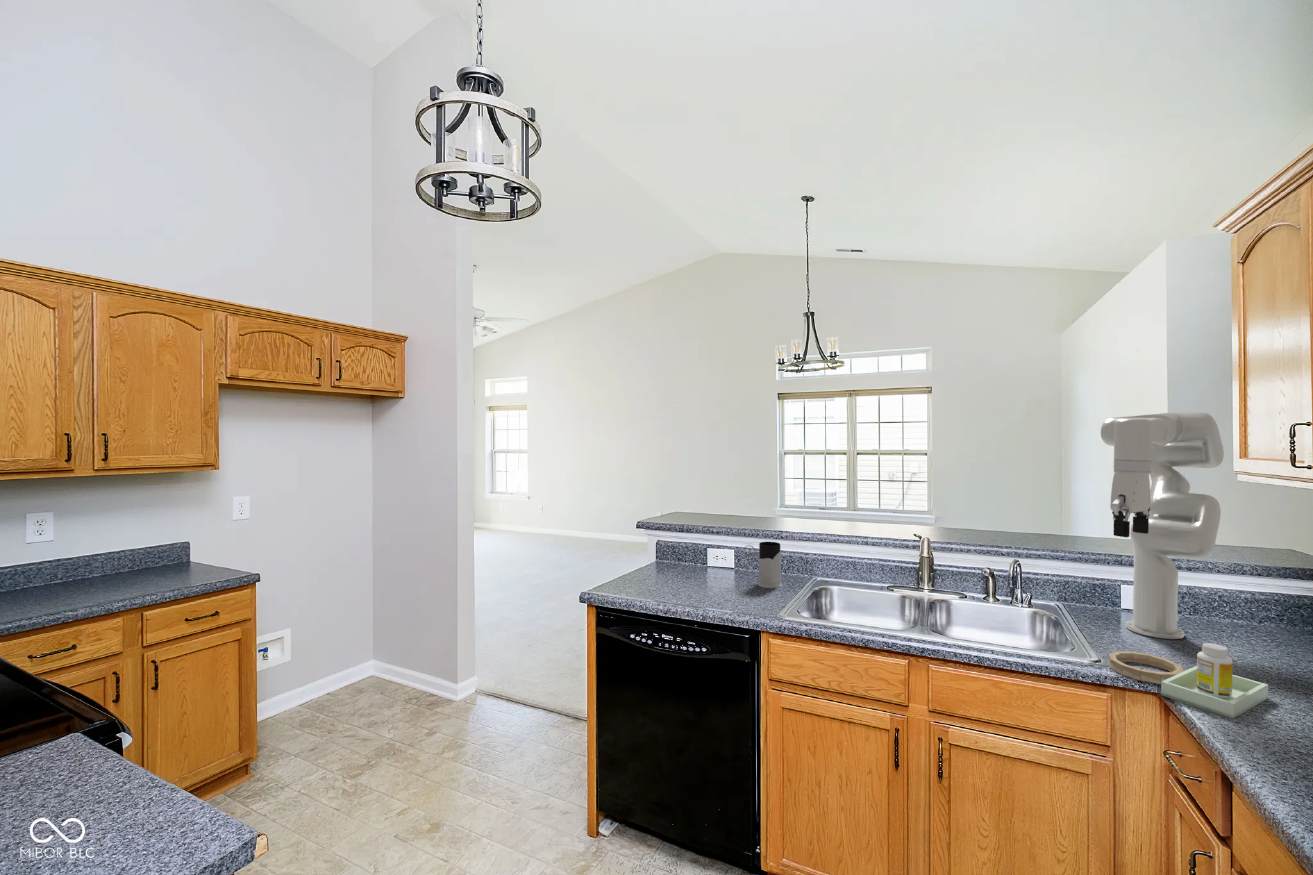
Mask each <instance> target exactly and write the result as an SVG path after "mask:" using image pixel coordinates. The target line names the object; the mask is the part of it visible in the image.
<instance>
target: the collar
mask: <svg viewBox="0 0 1313 875" xmlns="http://www.w3.org/2000/svg"><path fill="white" fill-rule="evenodd" d="M1126 663H1134V664H1135V663H1137V664H1142V665H1148V666H1152V667H1155V668H1159V669H1162V670H1164V669H1165V670H1164V671H1165V672H1164V671H1155V670H1146V669H1141V668H1139V667H1135V666H1131V665H1128V664H1126ZM1108 665H1109V668H1110V669H1111V670H1112V671H1114V672H1117V673H1119V674H1120V675H1122V676H1124V677H1129V678H1132V679H1135V680H1138V681H1143V682H1147V683H1152V684H1153V683H1154V684H1158V685H1161V681H1164V680H1166V679H1168V678H1170V677H1173V676H1175V675H1177V674H1179V673H1181V672H1184V671H1185V670H1184V668H1183V667H1182V665H1180V664H1178V663H1176V662H1174V661H1172V660H1170V659H1168V658H1165V657H1164V658H1163V657H1161V656H1157V655H1153V654H1150V653H1143V652H1137V651H1132V650H1131V651H1130V650H1128V651H1127V650H1126V651H1124V650H1120V651H1118V650H1117V651H1114V652H1113V651H1112V652H1110V653H1108ZM1166 670H1168V671H1169V672H1168V671H1166Z"/></svg>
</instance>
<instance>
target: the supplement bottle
mask: <svg viewBox="0 0 1313 875" xmlns="http://www.w3.org/2000/svg"><path fill="white" fill-rule="evenodd" d="M1228 651H1229V650H1228V648H1227V647H1226V646H1224V645H1220V644H1216V643H1210V642H1209V643H1208V642H1205V643H1202V647H1201V651H1199V652H1198V653H1197V654H1196V659H1197V660H1196V666H1197V689H1198V690H1199V691H1200V692H1202V693H1204V694H1207V695H1210V696H1214V697H1217V698H1230V697H1231V696H1232V675H1233V669H1234V668H1233V664H1234V663H1233V659H1232V658H1231V657H1230V656H1228V653H1229V652H1228Z"/></svg>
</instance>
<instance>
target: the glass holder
mask: <svg viewBox="0 0 1313 875" xmlns="http://www.w3.org/2000/svg"><path fill="white" fill-rule="evenodd" d="M747 547H751V548H752V549H753V554H754V557H755V559H758V573H757V572H756V570H754V569H753V567H751V565H750V563H748V560H747V558H746V548H747ZM758 549H759V553H758V556H757V555H756V553H757V552H756V549H755V547H754V546H753V545H749V544H747V545H745V546H744V548H743V558H744V559H743V560H744V561H745V564H746V565H747V567H748V568H749V569H750V570H751V571H752V572H753V573H754V574H755V575H756V576H757V579H758V582H757V586H758V587H760V588H764V589H778V588H781V587H783V584H782V581H781V580H782V576H781V574H782V561H781V560H782V551H781V543H780V542H778V541H777V542H776V541H762V542H759V547H758Z"/></svg>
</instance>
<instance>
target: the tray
mask: <svg viewBox="0 0 1313 875" xmlns="http://www.w3.org/2000/svg"><path fill="white" fill-rule="evenodd" d="M1160 685H1161V688H1160V695H1161V696H1162V697H1164V698H1169V699H1170V700H1174V701H1177V702H1180V703H1183V704H1187V705H1189V706H1193V707H1196V708H1198V709H1200V710H1201V709H1202V710H1205V711H1207V712H1211V713H1214V714H1217V715H1218V716H1219V715H1220V716H1221V717H1222V716H1223V717H1225V718H1229V719H1231V720H1234V719H1235V718H1237V717H1239V716H1241V715H1242V714H1243V713H1245V712H1247V711H1249V710H1250V709H1253V708H1254V707H1256V706H1258V705H1259V704H1260V703H1263V702H1264V701H1266V700H1267V699H1268V698H1269V696H1268V695H1269V684H1267V683H1263V682H1259V681H1256V680H1253V679H1251V678H1250V679H1249V678H1245V677H1242V676H1239V675H1235V674H1232V696H1231V697H1230V698H1217V697H1214V696H1210V695H1207V694H1204V693H1202V692H1200V691H1199V690H1198V689H1197V665H1195V666H1193V667H1191V668H1188V669H1186V670H1184V672H1181V673H1179V674H1177V675H1175V676H1173V677H1170V678H1168V679H1166V680H1164V681H1161V684H1160Z"/></svg>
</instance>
